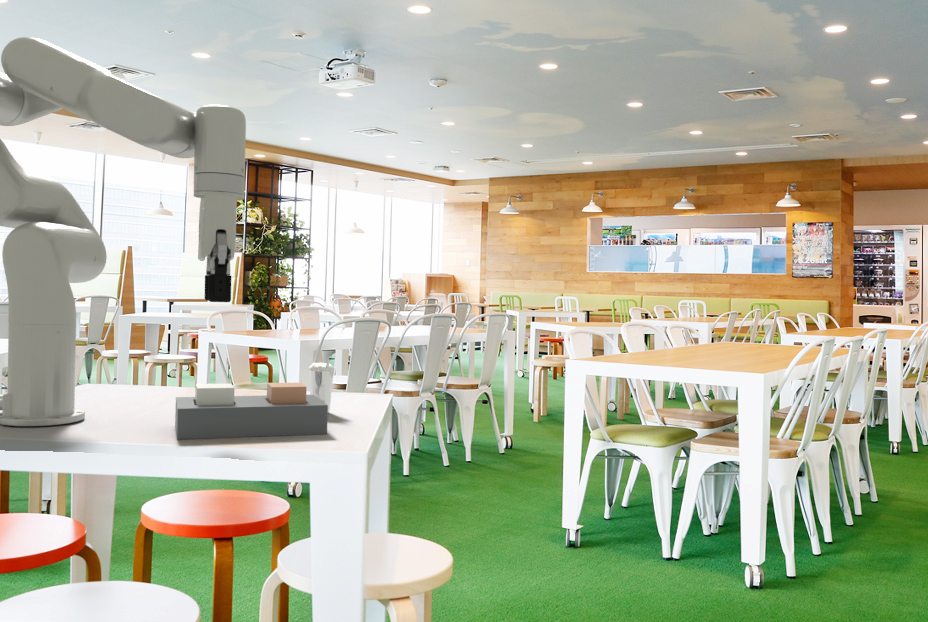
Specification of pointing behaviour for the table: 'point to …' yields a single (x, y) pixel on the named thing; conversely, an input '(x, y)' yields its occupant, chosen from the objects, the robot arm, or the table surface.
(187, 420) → the key panel
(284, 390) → the clay key
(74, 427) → the table surface
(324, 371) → the milkshake
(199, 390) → the white square block
